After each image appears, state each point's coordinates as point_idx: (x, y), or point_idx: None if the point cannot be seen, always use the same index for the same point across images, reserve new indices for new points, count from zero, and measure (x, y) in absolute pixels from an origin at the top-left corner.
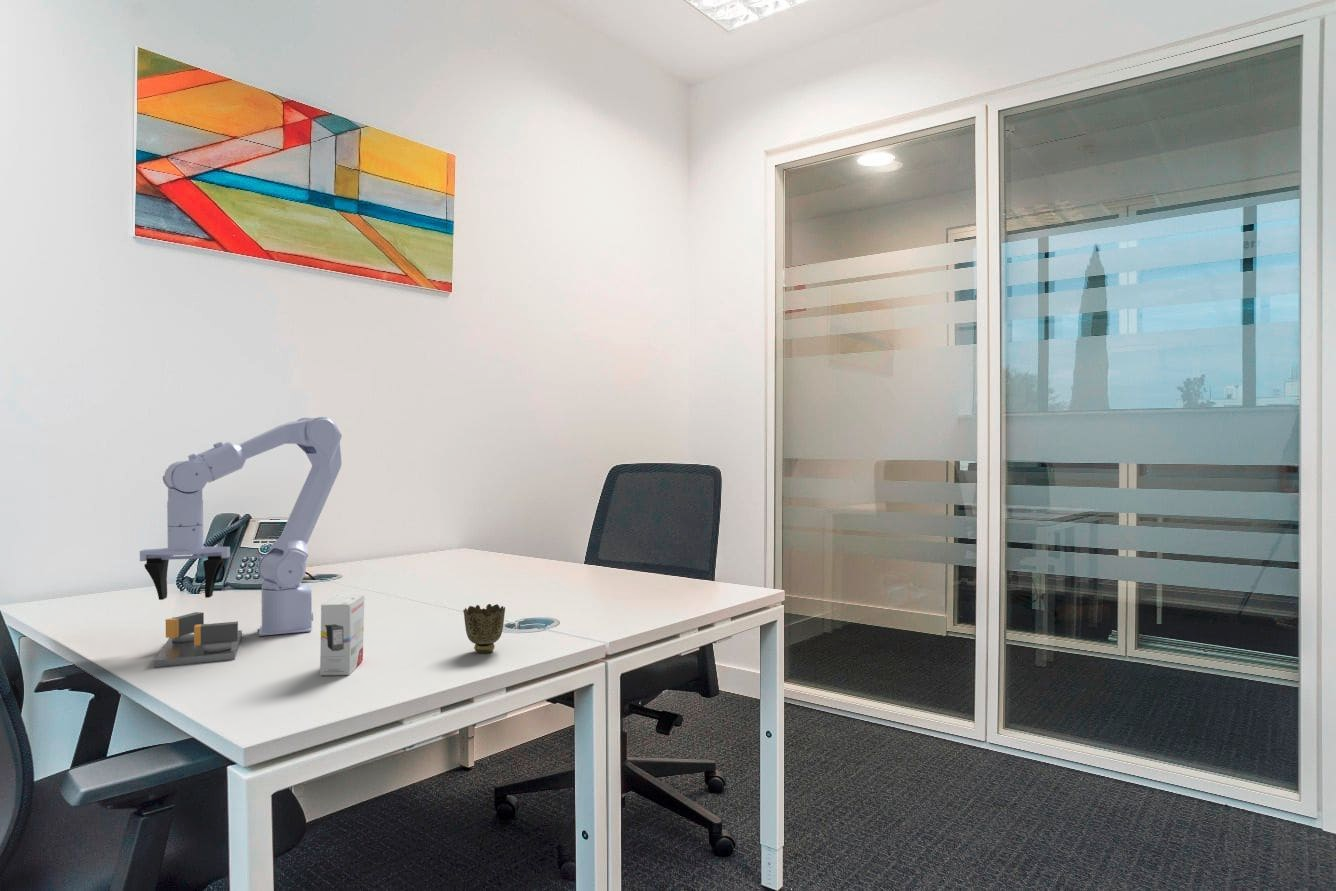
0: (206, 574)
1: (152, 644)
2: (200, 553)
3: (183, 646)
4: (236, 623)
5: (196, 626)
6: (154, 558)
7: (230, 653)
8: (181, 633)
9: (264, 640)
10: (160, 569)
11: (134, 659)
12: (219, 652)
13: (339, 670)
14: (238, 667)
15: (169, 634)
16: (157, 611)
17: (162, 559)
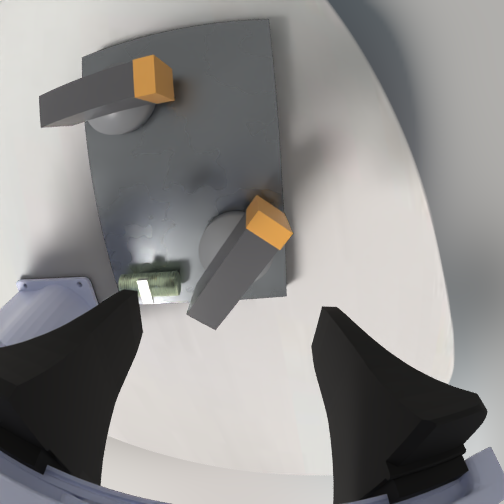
0: (65, 346)
1: (323, 286)
2: (22, 487)
3: (223, 156)
4: (41, 97)
5: (146, 60)
6: (430, 488)
7: (90, 54)
8: (240, 220)
9: (68, 238)
10: (383, 421)
11: (340, 134)
12: (114, 61)
13: None
14: (83, 3)
15: (273, 208)
16: (328, 466)
17: (381, 497)
